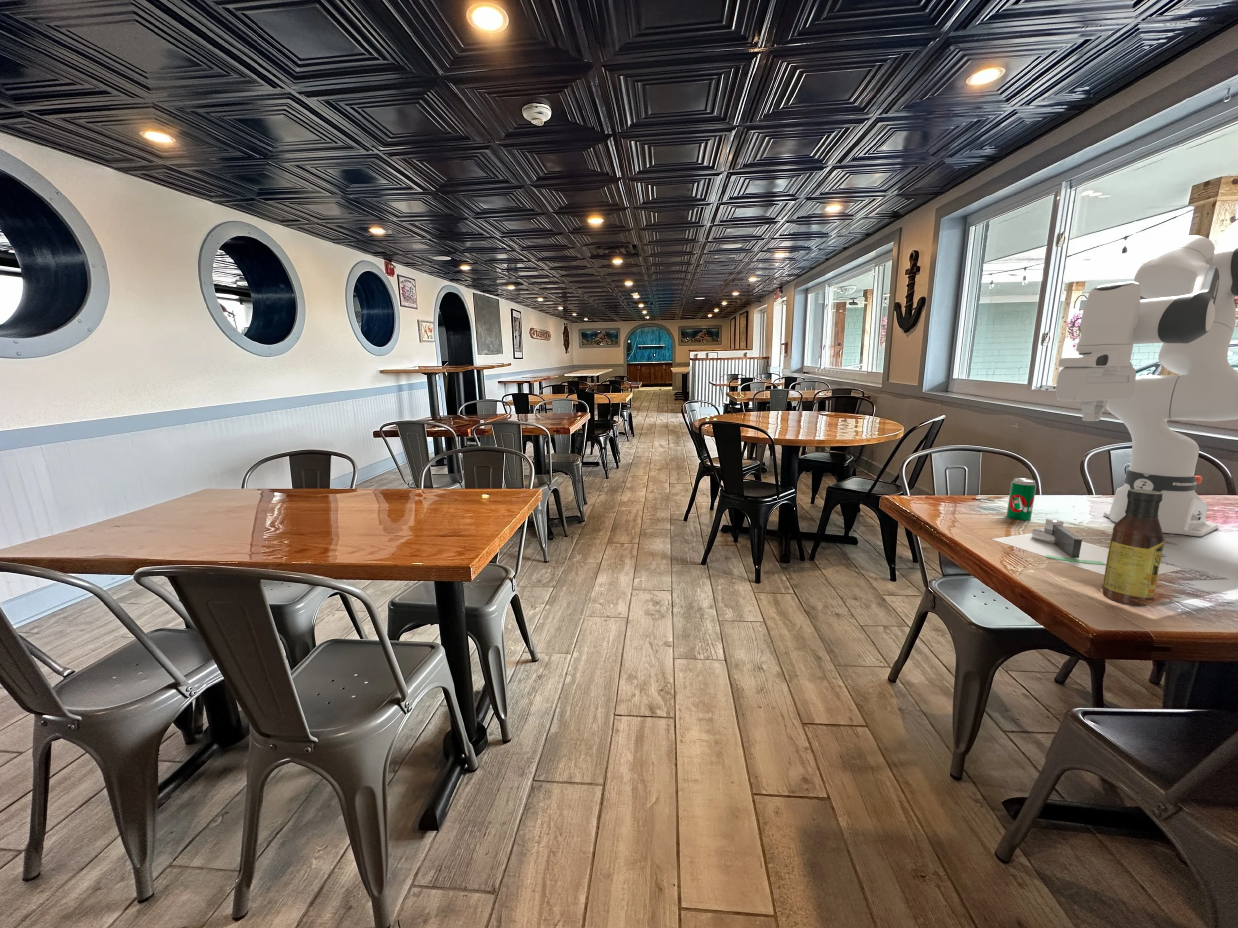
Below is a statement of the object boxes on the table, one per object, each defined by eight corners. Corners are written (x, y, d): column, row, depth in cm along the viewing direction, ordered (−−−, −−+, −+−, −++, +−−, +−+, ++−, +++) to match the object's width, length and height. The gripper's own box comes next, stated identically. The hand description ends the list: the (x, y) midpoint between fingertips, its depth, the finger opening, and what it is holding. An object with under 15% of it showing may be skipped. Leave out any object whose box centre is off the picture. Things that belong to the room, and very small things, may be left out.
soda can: (1020, 520, 129) (1027, 477, 127) (1034, 526, 124) (1042, 481, 122) (1001, 519, 129) (1007, 477, 127) (1014, 525, 124) (1021, 481, 122)
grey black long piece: (1027, 532, 113) (1029, 515, 113) (1064, 536, 111) (1067, 518, 110) (1053, 555, 100) (1057, 534, 99) (1097, 560, 97) (1101, 539, 96)
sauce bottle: (1158, 611, 79) (1183, 498, 76) (1106, 602, 83) (1128, 493, 79) (1142, 596, 85) (1165, 489, 81) (1095, 588, 88) (1115, 485, 84)
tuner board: (1044, 537, 116) (1045, 530, 115) (1181, 576, 93) (1183, 568, 93) (988, 545, 110) (989, 538, 110) (1119, 588, 88) (1121, 580, 88)
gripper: (1114, 359, 110) (1104, 418, 113) (1053, 359, 105) (1043, 421, 107) (1151, 358, 104) (1138, 420, 107) (1088, 358, 99) (1077, 424, 101)
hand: (1090, 421), depth 107 cm, fingers closed
